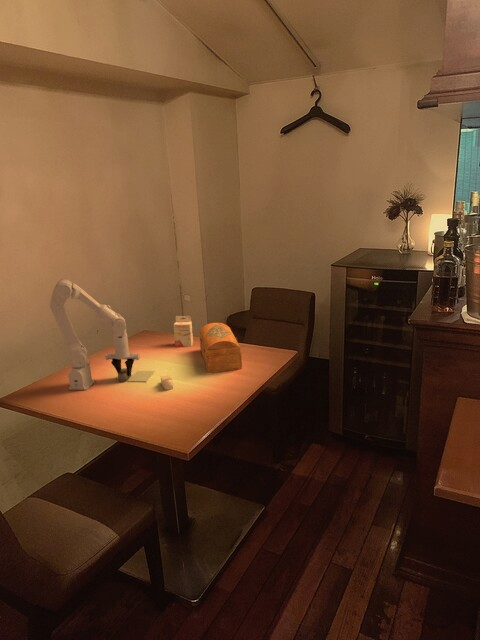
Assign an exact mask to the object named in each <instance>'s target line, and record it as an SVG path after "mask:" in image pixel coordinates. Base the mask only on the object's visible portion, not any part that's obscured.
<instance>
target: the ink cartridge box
mask: <svg viewBox="0 0 480 640" xmlns="http://www.w3.org/2000/svg"><path fill="white" fill-rule="evenodd" d="M174 320H175V322H174V323H173V334H174V335H173V336H174V346H175V347H192V346H193V344H194V336H193V335H194V334H193V325H192V324H193V322H192V317H191V316H190V315H176V316H175V319H174Z"/></svg>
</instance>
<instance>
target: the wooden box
mask: <svg viewBox="0 0 480 640" xmlns="http://www.w3.org/2000/svg"><path fill="white" fill-rule="evenodd" d="M238 340H239V339H238V338H237V337H235V334H234V333H233V331H232V329H231V327H229V326H228V325H227V324H226V323H222V322H210V323H207V324H205V325H204V326H203V327H201V328H200V329H199V347H200V352H201V355H202V358H203V360H204V364H205V367H206V370H207V372H208V373H209V374H210V373H216V372H218V373H219V372H224V371H225V372H227V371H228V372H229V371H235V370H236V371H237V370H242V369H243V362H242V361H243V360H242V352H241V346H240V344H239V343H238Z"/></svg>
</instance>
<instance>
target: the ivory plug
mask: <svg viewBox="0 0 480 640" xmlns="http://www.w3.org/2000/svg"><path fill="white" fill-rule="evenodd" d="M160 382H161V387H162V388H163V389H164V391H171V390H173V388H174V384H173V378H172V377H171V375H168V374H167V375H162V376H160Z"/></svg>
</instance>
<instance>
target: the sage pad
mask: <svg viewBox="0 0 480 640" xmlns="http://www.w3.org/2000/svg"><path fill="white" fill-rule="evenodd" d="M154 373H155V370H136V371H135V372H134V374H132V375H131V377H130V378H129V379H128V380H127V382H128V383H147V382H148V381H149V379H150V378H151V377H152V376H153V375H154Z"/></svg>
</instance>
